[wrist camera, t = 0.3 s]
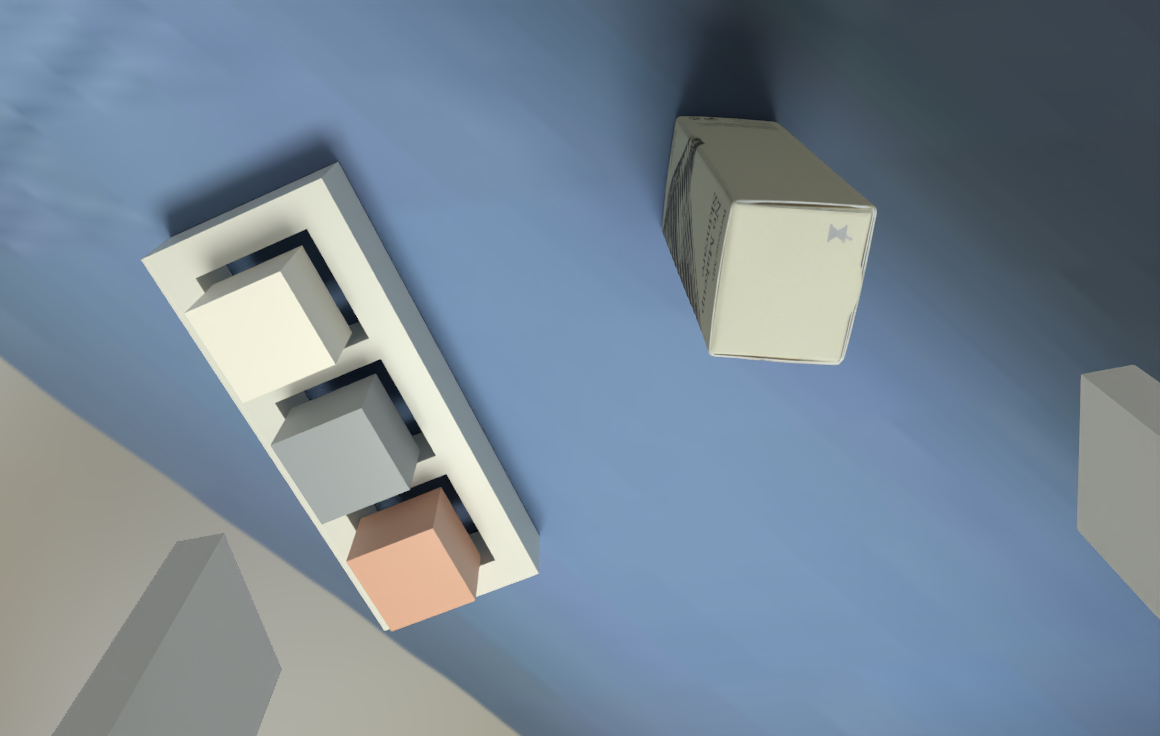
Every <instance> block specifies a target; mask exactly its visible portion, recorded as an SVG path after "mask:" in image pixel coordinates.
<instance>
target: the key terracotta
mask: <svg viewBox="0 0 1160 736" xmlns="http://www.w3.org/2000/svg"><path fill="white" fill-rule="evenodd" d="M480 558H481V555H480V553H479V552H478V550H477V548H476V546H475V545H474V543H473V541H472V540H471V538H470V536H469V534H468V533H467V531H466V529H465V527H464V526H463V524H462V522H461V520H460V519H459V517H458V515H457V513H456V512H455V510H454V508H453V507H452V505H451V503H450V501H449V500H448V498H447V496H446V494H445V493H444V491H443V489H442V487H440V488H437V489H435V490H432V491H430V492H427V493H424V494H422V495H419V496H417V497H414V498H412V499H409V500H407V501H404V502H401V503H399V504H396V505H394V506H391V507H389V508H386V509H384V510H381V511H378V512H376V513H373V514H371V515H368V516H366V517H363V518H361V519H360V522H359V525H358V528H357V531H356V534H355V537H354V539H353V542H352V545H351V548H350V551H349V554H348V557H347V560H346V562H347V564H348V565H349V567H350V568H351V570H352V572H353V573H354V575H355V576H356V578H357V579H358V581H359V582H360V584H361V585H362V587H363V588H364V590H365V591H366V593H367V595H368V596H369V598H370V599H371V601H372V602H373V604H374V605H375V607H376V608H377V610H378V611H379V613H380V614H381V616H382V618H383V619H384V621H385V622H386V624H387V625H388V627H389V628H390V630H391V631H395V630H397V629H400V628H403V627H405V626H408V625H411V624H413V623H416V622H419V621H421V620H424V619H427V618H430V617H432V616H435V615H438V614H440V613H443V612H446V611H448V610H451V609H454V608H457V607H459V606H462V605H465V604H467V603H470V602H473V601H475V600H476V592H477V584H478V575H479V567H480Z"/></svg>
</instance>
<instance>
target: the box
mask: <svg viewBox="0 0 1160 736" xmlns="http://www.w3.org/2000/svg"><path fill="white" fill-rule="evenodd" d="M876 215H877V209H876V207H875V206H874V205H873V204H871V203H870V202H869V201H868V200H867V199H865V198H864V197H863V196H862V195H861V194H860V193H859V192H857V191H856V190H855V189H854V188H852V187H851V186H850V185H849V184H848V183H847V182H846V181H844V180H843V179H842V178H841V177H840V176H839V175H838V174H836V173H835V172H834V171H833V170H832V169H831V168H829V167H828V166H827V165H826V164H825V163H824V162H823V161H821V160H820V159H819V158H818V157H817V156H816V155H814V154H813V153H812V152H811V151H810V150H809V149H808V148H807V147H805V146H804V145H803V144H802V143H801V142H800V141H799V140H797V139H796V138H795V137H794V136H793V135H792V134H791V133H789V132H788V131H787V130H786V129H785V128H783V127H782V126H781V125H780V124H778V123H777V122H772V121H759V120H748V119H734V118H717V117H692V116H680V117H678V118H677V119H676V122H675V128H674V134H673V141H672V147H671V154H670V161H669V167H668V175H667V183H666V191H665V203H664V213H663V224H662V232H663V235H664V237H665V240H666V242H667V245H668V248H669V250H670V253H671V255H672V258H673V261H674V263H675V266H676V268H677V271H678V274H679V276H680V278H681V281H682V283H683V286H684V289H685V291H686V294H687V297H688V298H689V301H690V304H691V306H692V308H693V311H694V314H695V315H696V319H697V321H698V323H699V326H700V329H701V331H702V334H703V337H704V340H705V343H706V346H707V349H708V351H709V354H710V355H712V356H716V357H731V358H742V359H751V360H765V361H775V362H787V363H804V364H823V365H839V364H840V363H841V362H842V361H843V359H844V357H845V354H846V350H847V346H848V343H849V339H850V336H851V331H852V327H853V322H854V318H855V314H856V310H857V306H858V302H859V298H860V293H861V289H862V284H863V279H864V274H865V269H866V265H867V260H868V255H869V250H870V245H871V240H872V235H873V230H874V225H875V220H876Z"/></svg>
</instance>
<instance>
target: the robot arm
mask: <svg viewBox="0 0 1160 736" xmlns="http://www.w3.org/2000/svg"><path fill="white" fill-rule="evenodd" d="M1077 530H1078V531H1079V532H1080V533H1081V534H1082V535H1083V536H1084V537H1085V538H1086V540H1087V541H1088V542H1089V543H1090V544H1091V545H1092V546H1093V547H1094V548H1095V549H1096V551H1097V552H1098V553H1099V554H1100V555H1101V556H1102V557H1103V558H1104V559H1105V560H1106V561H1107V563H1108V564H1109V565H1110V566H1111V567H1112V568H1113V569H1114V570H1115V571H1116V572H1117V574H1118V575H1119V576H1120V577H1121V578H1122V579H1123V580H1124V581H1125V582H1126V583H1127V584H1128V586H1129V587H1130V588H1131V589H1132V590H1133V591H1134V592H1135V593H1136V594H1137V595H1138V597H1139V598H1140V599H1141V600H1142V601H1143V602H1144V603H1145V604H1146V605H1147V606H1148V608H1149V609H1150V610H1151V611H1152V612H1153V613H1154V614H1155V615H1156V616H1157V617H1158V618H1159V620H1160V383H1159V382H1158V381H1156V380H1155V379H1154V378H1152V377H1151V376H1149V375H1148V374H1147V373H1145V372H1144V371H1142V370H1141V369H1139V368H1138V367H1137V366H1135V365H1130V366H1124V367H1119V368H1113V369H1108V370H1103V371H1097V372H1092V373H1086V374H1081V398H1080V437H1079V475H1078V513H1077ZM281 670H282V669H281V666H280V664H279V662H278V659H277V657H276V654H275V652H274V650H273V647H272V645H271V643H270V640H269V638H268V636H267V633H266V631H265V628H264V626H263V624H262V621H261V619H260V617H259V614H258V612H257V610H256V607H255V605H254V603H253V600H252V598H251V595H250V593H249V591H248V588H247V586H246V584H245V581H244V579H243V576H242V574H241V572H240V569H239V567H238V565H237V562H236V560H235V558H234V555H233V553H232V550H231V548H230V546H229V544H228V541H227V539H226V536H225V534H224V533H222V534H217V535H211V536H205V537H200V538H195V539H190V540H184V541H178V542H176V544H175V546H174V547H173V549H172V550H171V552H170V553H169V555H168V556H167V558H166V559H165V561H164V563H163V564H162V566H161V567H160V569H159V570H158V572H157V573H156V575H155V576H154V578H153V580H152V581H151V583H150V584H149V586H148V587H147V589H146V590H145V592H144V593H143V595H142V597H141V598H140V600H139V601H138V603H137V604H136V606H135V607H134V609H133V611H132V612H131V614H130V615H129V617H128V619H127V620H126V622H125V623H124V624H123V626H122V628H121V629H120V631H119V632H118V634H117V635H116V637H115V639H114V640H113V642H112V643H111V645H110V646H109V648H108V649H107V651H106V652H105V654H104V656H103V657H102V659H101V660H100V662H99V663H98V665H97V666H96V668H95V669H94V671H93V673H92V674H91V676H90V678H89V679H88V680H87V682H86V683H85V685H84V687H83V688H82V690H81V691H80V693H79V694H78V696H77V697H76V699H75V701H74V702H73V704H72V705H71V707H70V708H69V710H68V711H67V713H66V714H65V716H64V718H63V719H62V721H61V722H60V724H59V726H58V727H57V728H56V730H55V732H54V733H53V735H52V736H256V735H257V732H258V730H259V727H260V725H261V722H262V719H263V717H264V714H265V711H266V709H267V706H268V703H269V701H270V698H271V696H272V693H273V691H274V688H275V685H276V683H277V680H278V677H279V674H280V672H281Z"/></svg>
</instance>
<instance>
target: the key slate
mask: <svg viewBox="0 0 1160 736" xmlns="http://www.w3.org/2000/svg"><path fill="white" fill-rule="evenodd" d="M270 446H271V447H272V449H273V450H274V452H275V453H276V455H277V457H278V458H279V460H280V461H281V463H282V464H283V466H284V467H285V469H286V470H287V472H288V473H289V475H290V476H291V478H292V480H293V481H294V483H295V484H296V486H297V487H298V489H299V490H300V492H301V493H302V495H303V496H304V498H305V499H306V501H307V503H308V504H309V506H310V507H311V509H312V510H313V512H314V513H315V515H316V516H317V518H318V519H319V521H320V522H321V524H324V523H327V522H329V521H332V520H335V519H337V518H340V517H342V516H345V515H347V514H350V513H352V512H355V511H357V510H360V509H363V508H365V507H368V506H370V505H373V504H375V503H378V502H380V501H383V500H385V499H388V498H391V497H393V496H396V495H398V494H401V493H403V492H406V491H408V490H410V488H411V484H412V480H413V476H414V472H415V469H416V465H417V461H418V457H419V453H420V449H419V447H418V446H417V444H416V442H415V441H414V439H413V437H412V435H411V434H410V432H409V430H408V428H407V427H406V425H405V423H404V421H403V420H402V418H401V416H400V414H399V413H398V411H397V409H396V408H395V406H394V404H393V402H392V401H391V399H390V397H389V395H388V394H387V392H386V390H385V388H384V387H383V385H382V383H381V381H380V380H379V378H378V376H377V375H376V374H373V375H371V376H368V377H366V378H364V379H361V380H359V381H356V382H354V383H352V384H349V385H347V386H344V387H342V388H339V389H337V390H335V391H332V392H330V393H327V394H325V395H323V396H320V397H318V398H315V399H313V400H311V401H308V402H306V403H303V404H301V405H299V406H296V407H294V408H291V410H290V412H289V413H288V415H287V417H286V419H285V420H284V422H283V424H282V426H281V428H280V429H279V431H278V433H277V435H276V436H275V438H274V440H273V442H272V443H271V445H270Z"/></svg>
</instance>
